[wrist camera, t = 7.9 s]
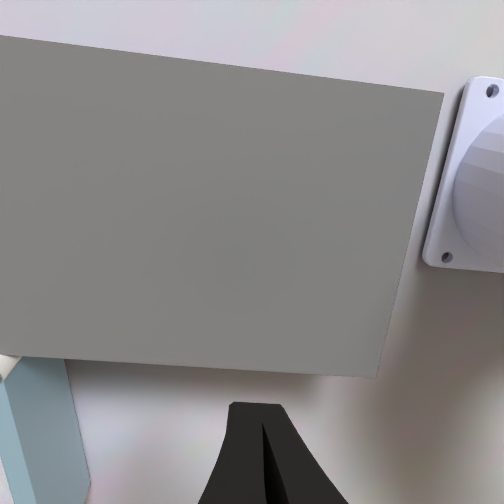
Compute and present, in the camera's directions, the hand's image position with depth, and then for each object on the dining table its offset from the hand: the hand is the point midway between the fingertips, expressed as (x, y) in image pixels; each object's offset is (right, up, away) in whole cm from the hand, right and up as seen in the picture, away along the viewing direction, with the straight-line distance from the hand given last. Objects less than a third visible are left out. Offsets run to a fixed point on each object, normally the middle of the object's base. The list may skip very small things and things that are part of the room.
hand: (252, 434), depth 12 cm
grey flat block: (-5, +7, +7) cm, 11 cm away
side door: (-9, -2, +10) cm, 13 cm away
